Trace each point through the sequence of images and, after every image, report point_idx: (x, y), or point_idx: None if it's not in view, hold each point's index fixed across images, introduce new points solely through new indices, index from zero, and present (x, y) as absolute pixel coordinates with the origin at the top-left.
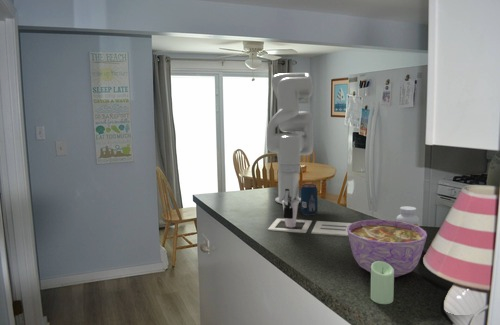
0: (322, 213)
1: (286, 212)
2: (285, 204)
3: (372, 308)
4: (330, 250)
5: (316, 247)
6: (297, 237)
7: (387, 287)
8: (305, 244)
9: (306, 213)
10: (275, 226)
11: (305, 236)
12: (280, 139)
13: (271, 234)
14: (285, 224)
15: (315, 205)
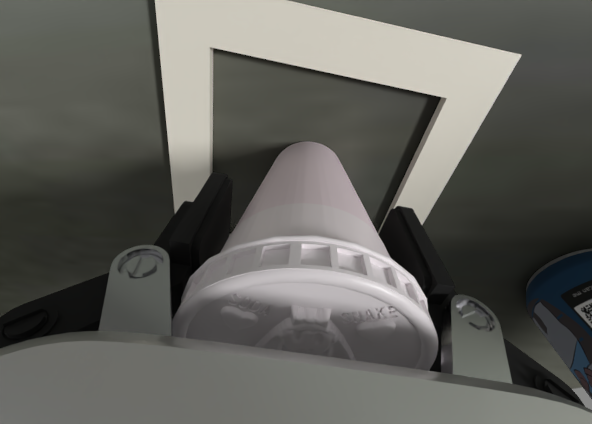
0: (532, 325)
1: (168, 230)
2: (11, 323)
3: None
4: (10, 307)
5: (6, 274)
6: (92, 210)
7: None
8: (11, 240)
9: (545, 274)
10: (248, 55)
11: (128, 244)
12: None
13: (59, 26)
14: (302, 144)
15: (561, 357)
